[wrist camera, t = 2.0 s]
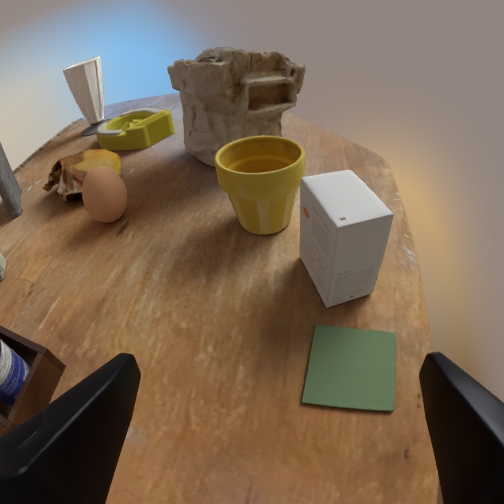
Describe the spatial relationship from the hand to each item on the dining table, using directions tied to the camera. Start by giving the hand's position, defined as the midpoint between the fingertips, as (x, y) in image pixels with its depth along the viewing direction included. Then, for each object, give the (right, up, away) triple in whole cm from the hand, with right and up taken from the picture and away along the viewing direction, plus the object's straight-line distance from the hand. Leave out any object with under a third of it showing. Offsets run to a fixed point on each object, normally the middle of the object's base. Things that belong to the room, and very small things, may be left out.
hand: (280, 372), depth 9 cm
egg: (-22, +8, +36) cm, 43 cm away
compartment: (-26, -11, +16) cm, 33 cm away
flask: (-53, +14, +45) cm, 71 cm away
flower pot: (+1, +8, +33) cm, 34 cm away
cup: (-46, +40, +71) cm, 94 cm away
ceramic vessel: (-2, +23, +49) cm, 54 cm away
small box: (+8, +1, +25) cm, 26 cm away
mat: (+8, -7, +17) cm, 20 cm away
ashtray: (-29, +32, +61) cm, 74 cm away
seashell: (-33, +16, +45) cm, 58 cm away
